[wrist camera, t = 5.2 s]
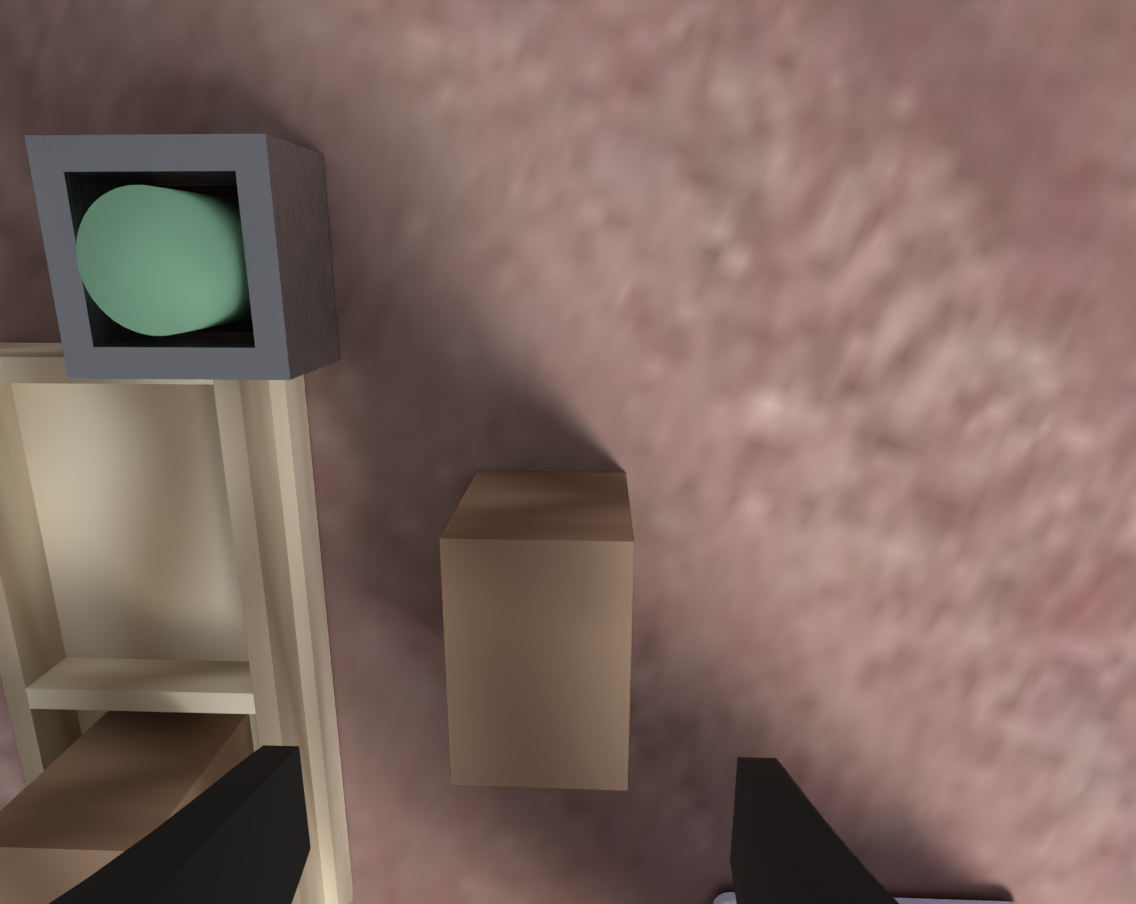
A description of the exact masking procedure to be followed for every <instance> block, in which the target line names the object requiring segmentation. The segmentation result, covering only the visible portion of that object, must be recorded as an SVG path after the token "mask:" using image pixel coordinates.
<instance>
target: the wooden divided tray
mask: <svg viewBox="0 0 1136 904" xmlns="http://www.w3.org/2000/svg"><path fill="white" fill-rule="evenodd" d="M0 676H1V681H2V685H3V689H4V694H5V698H6V703H7V707H8V711H9V716H10V720H11V724H12V729H13V733H14V737H15V742H16V746H17V750H18V755H19V759H20V763H21V768H22V772H23V776H24V781H25V785H26V787H27V786H28V785H29V784H30V783H31V782H32V781H34V780H35V779H36V778H37V777H38V776H39V775H40V774H41V773H42V772H43V771H44V770H45V769H46V768H47V767H48V766H50V765H51V764H52V763H53V762H54V761H55V760H56V759H57V758H58V757H59V756H60V755H61V754H62V753H63V752H65V751H66V750H67V749H68V748H69V747H70V746H71V745H72V744H73V743H74V742H75V741H76V740H77V739H78V738H80V737H81V736H82V735H83V734H84V733H85V732H86V731H87V730H88V729H89V728H90V727H91V726H92V725H93V724H95V723H96V722H97V721H98V720H99V719H100V718H101V717H102V716H103V715H104V714H105V713H106V712H107V711H146V712H187V713H227V714H249V717H250V724H251V732H252V739H253V747H254V752H255V751H256V750H257V749H259V748H260V747H262V746H263V745H272V746H299V749H300V758H301V767H302V775H303V784H304V793H305V802H306V811H307V820H308V828H309V837H310V846H311V849H310V852H309V855H308V858H307V861H306V864H305V867H304V870H303V873H302V876H301V879H300V882H299V885H298V887H297V890H296V893H295V896H294V898H293V901H292V904H351V901H352V898H353V886H352V875H351V865H350V854H349V844H348V833H347V823H346V812H345V802H344V791H343V781H342V770H341V760H340V749H339V739H338V729H337V718H336V708H335V697H334V687H333V676H332V666H331V655H330V645H329V634H328V624H327V613H326V603H325V593H324V582H323V572H322V561H321V551H320V540H319V530H318V519H317V509H316V498H315V488H314V477H313V467H312V457H311V446H310V436H309V425H308V415H307V404H306V394H305V383H304V375H301V376H299V377H296V378H294V379H292V380H204V379H68V376H67V370H66V365H65V359H64V353H63V348H62V343H0Z"/></svg>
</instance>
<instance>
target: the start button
mask: <svg viewBox="0 0 1136 904" xmlns="http://www.w3.org/2000/svg"><path fill="white" fill-rule="evenodd" d="M76 256H77V264H78V268H79V272H80V275H81V278H82V281H83V283H84V285H85V287H86V289H87V291H88V293H89V294H90V296H91V297H92V299H93V300H94V301H95V303H96V304H97V305H98V306H99V308H100V309H101V310H102V311H103V312H104V313H105V314H106V315H108V316H109V317H110V318H111V319H113V320H114V321H115V322H117V323H118V324H120V325H122V326H123V327H125V328H128V329H130V330H132V331H135V332H138V333H141V334H146V335H152V336H167V335H173V334H178V333H184V332H189V331H194V330H199V329H204V328H210V327H215V326H220V325H225V324H230V323H235V322H241V321H245V320H249V319H252V315H251V306H250V297H249V288H248V279H247V270H246V261H245V252H244V243H243V234H242V225H241V216H240V207H239V200H236V199H232V198H228V197H222V196H215V195H208V194H201V193H195V192H188V191H181V190H175V189H168V188H161V187H154V186H148V185H127V186H123V187H119V188H116V189H114V190H111V191H109V192H107V193H106V194H104V195H102V196H101V197H100V198H99V199H97V200H96V201H95V202H94V203H93V204H92V205H91V206H90V208H89V209H88V211H87V212H86V214H85V215H84V217H83V219H82V222H81V224H80V227H79V230H78V235H77V241H76Z"/></svg>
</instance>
